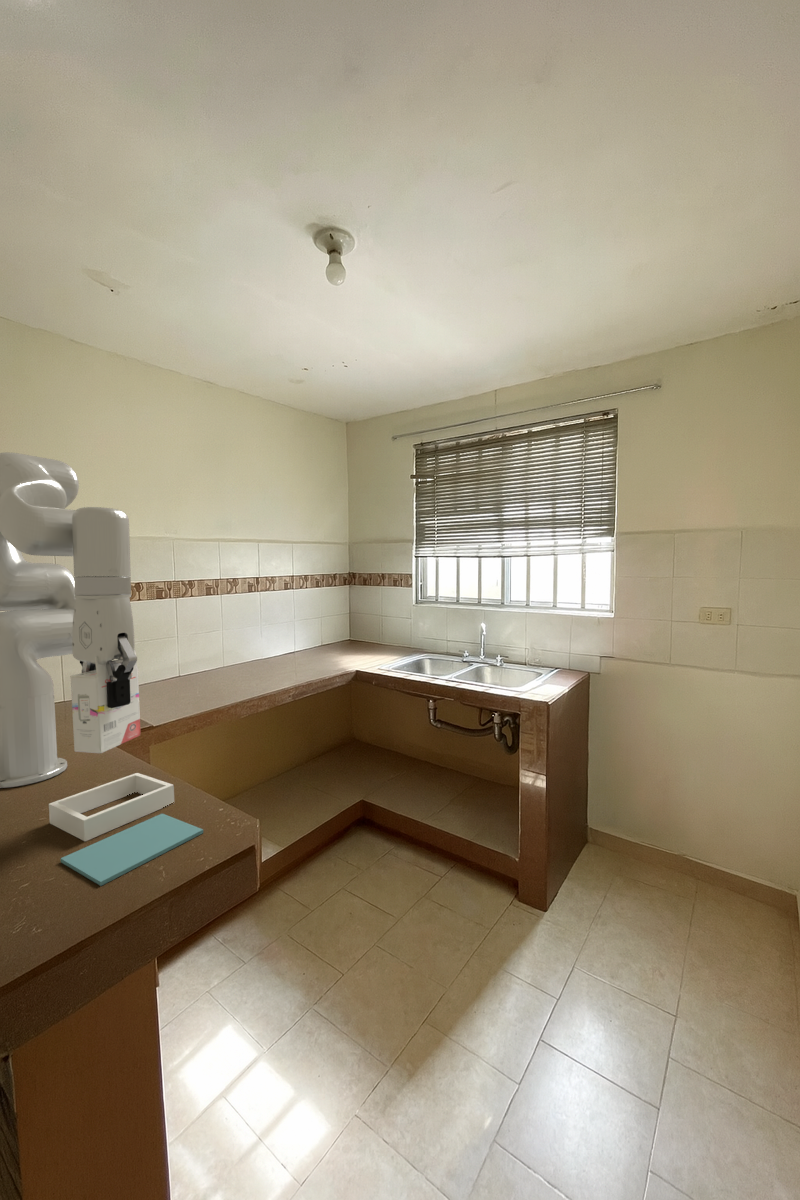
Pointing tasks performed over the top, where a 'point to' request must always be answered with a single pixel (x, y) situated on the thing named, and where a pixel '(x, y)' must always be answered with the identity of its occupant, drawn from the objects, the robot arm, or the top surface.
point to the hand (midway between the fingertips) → (107, 701)
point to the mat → (130, 848)
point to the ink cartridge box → (102, 711)
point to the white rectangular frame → (86, 828)
